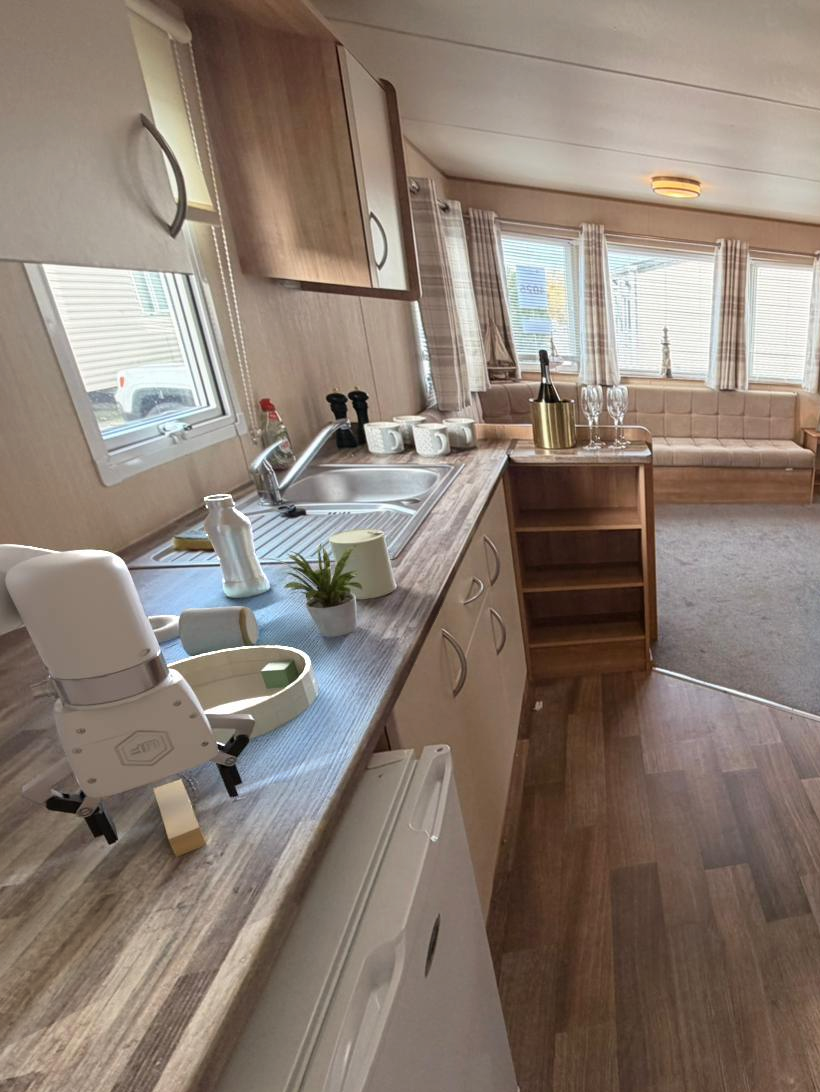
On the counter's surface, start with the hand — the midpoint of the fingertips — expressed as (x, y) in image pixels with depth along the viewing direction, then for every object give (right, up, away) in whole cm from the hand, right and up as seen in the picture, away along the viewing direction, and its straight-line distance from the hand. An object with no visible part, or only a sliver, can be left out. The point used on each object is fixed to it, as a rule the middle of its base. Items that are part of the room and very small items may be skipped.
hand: (175, 812), depth 69 cm
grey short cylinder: (-27, +15, +36) cm, 47 cm away
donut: (-39, +16, +36) cm, 55 cm away
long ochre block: (0, -2, +1) cm, 2 cm away
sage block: (-9, +11, +26) cm, 30 cm away
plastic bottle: (-37, +23, +53) cm, 69 cm away
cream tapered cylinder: (-19, +25, +59) cm, 67 cm away
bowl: (-12, +7, +20) cm, 24 cm away
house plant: (-14, +17, +41) cm, 47 cm away
